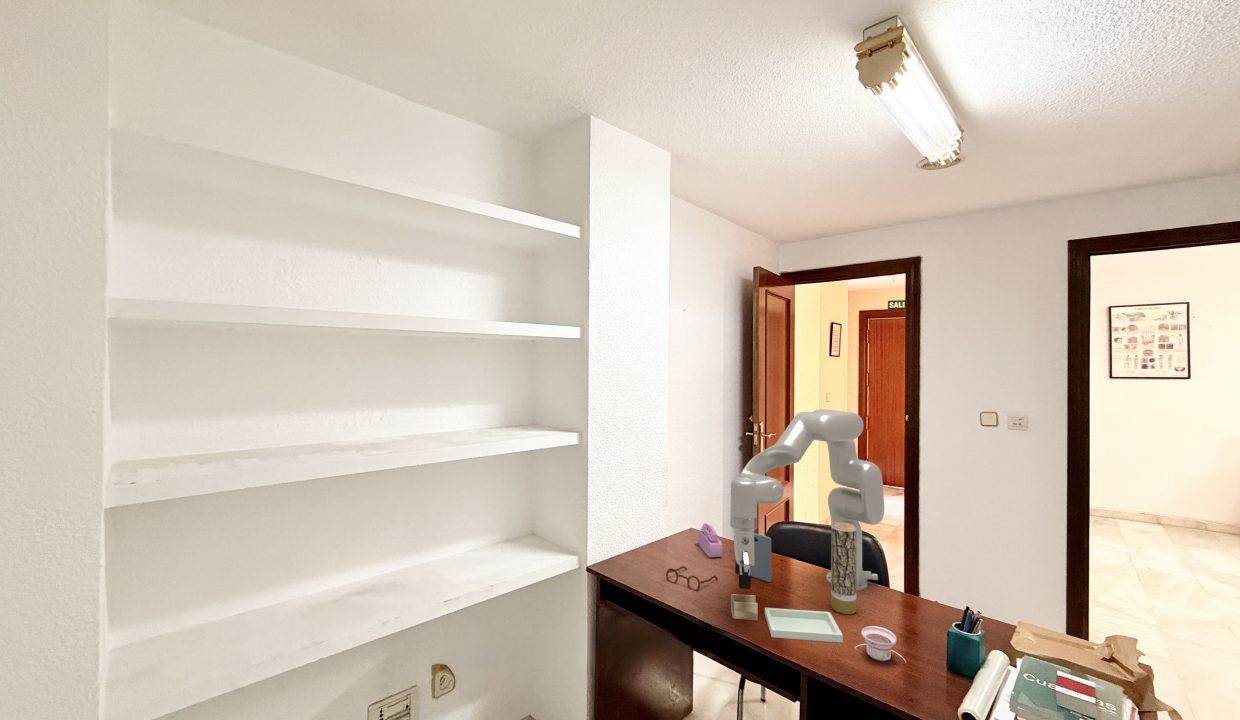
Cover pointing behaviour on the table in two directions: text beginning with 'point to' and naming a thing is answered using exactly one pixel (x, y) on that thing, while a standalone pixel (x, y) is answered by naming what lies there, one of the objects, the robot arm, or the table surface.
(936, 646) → the table surface
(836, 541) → the paper tube
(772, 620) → the tray
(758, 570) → the smartphone
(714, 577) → the glasses
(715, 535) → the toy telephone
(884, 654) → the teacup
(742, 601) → the beige open holder
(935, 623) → the table surface
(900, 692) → the table surface
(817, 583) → the table surface
